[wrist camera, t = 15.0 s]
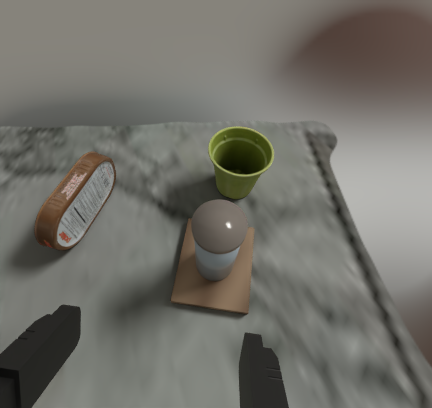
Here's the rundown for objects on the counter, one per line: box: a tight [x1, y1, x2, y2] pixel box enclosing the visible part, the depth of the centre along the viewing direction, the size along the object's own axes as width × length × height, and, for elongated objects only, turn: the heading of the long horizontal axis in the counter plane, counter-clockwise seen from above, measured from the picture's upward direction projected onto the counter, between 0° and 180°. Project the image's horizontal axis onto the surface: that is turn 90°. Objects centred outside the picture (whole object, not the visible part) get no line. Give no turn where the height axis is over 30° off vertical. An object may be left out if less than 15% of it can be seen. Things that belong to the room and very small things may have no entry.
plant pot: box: [208, 127, 274, 199], centre depth 41 cm, size 9×9×9 cm
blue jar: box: [191, 199, 248, 281], centre depth 31 cm, size 6×6×12 cm
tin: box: [34, 152, 116, 250], centre depth 37 cm, size 15×3×8 cm, turn 162°
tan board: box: [170, 218, 254, 314], centre depth 36 cm, size 10×12×1 cm
